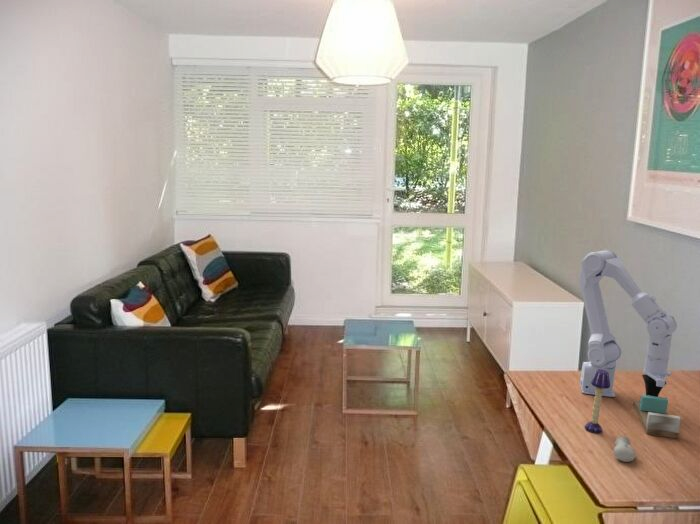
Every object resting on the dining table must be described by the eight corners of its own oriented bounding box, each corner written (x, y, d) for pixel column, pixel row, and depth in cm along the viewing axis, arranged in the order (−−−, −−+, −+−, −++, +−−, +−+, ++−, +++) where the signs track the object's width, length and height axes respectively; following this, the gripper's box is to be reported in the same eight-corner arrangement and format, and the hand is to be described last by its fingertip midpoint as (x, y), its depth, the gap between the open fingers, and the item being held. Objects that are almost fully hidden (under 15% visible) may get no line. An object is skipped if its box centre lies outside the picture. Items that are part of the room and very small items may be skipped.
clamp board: (646, 433, 155) (649, 414, 154) (632, 404, 173) (635, 387, 172) (677, 438, 153) (680, 419, 152) (660, 408, 171) (663, 390, 170)
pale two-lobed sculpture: (630, 470, 139) (609, 459, 141) (632, 454, 146) (612, 444, 148) (639, 456, 138) (617, 445, 139) (640, 441, 145) (619, 430, 146)
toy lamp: (589, 423, 160) (597, 366, 156) (606, 429, 156) (614, 371, 153) (582, 429, 156) (589, 370, 153) (599, 435, 153) (607, 376, 150)
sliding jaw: (640, 410, 165) (642, 397, 164) (639, 407, 167) (641, 394, 166) (666, 413, 163) (668, 400, 162) (664, 411, 165) (666, 397, 164)
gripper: (679, 367, 159) (672, 413, 162) (666, 350, 173) (659, 392, 175) (651, 363, 161) (645, 409, 163) (640, 347, 175) (634, 389, 177)
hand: (650, 400), depth 170 cm, fingers closed
